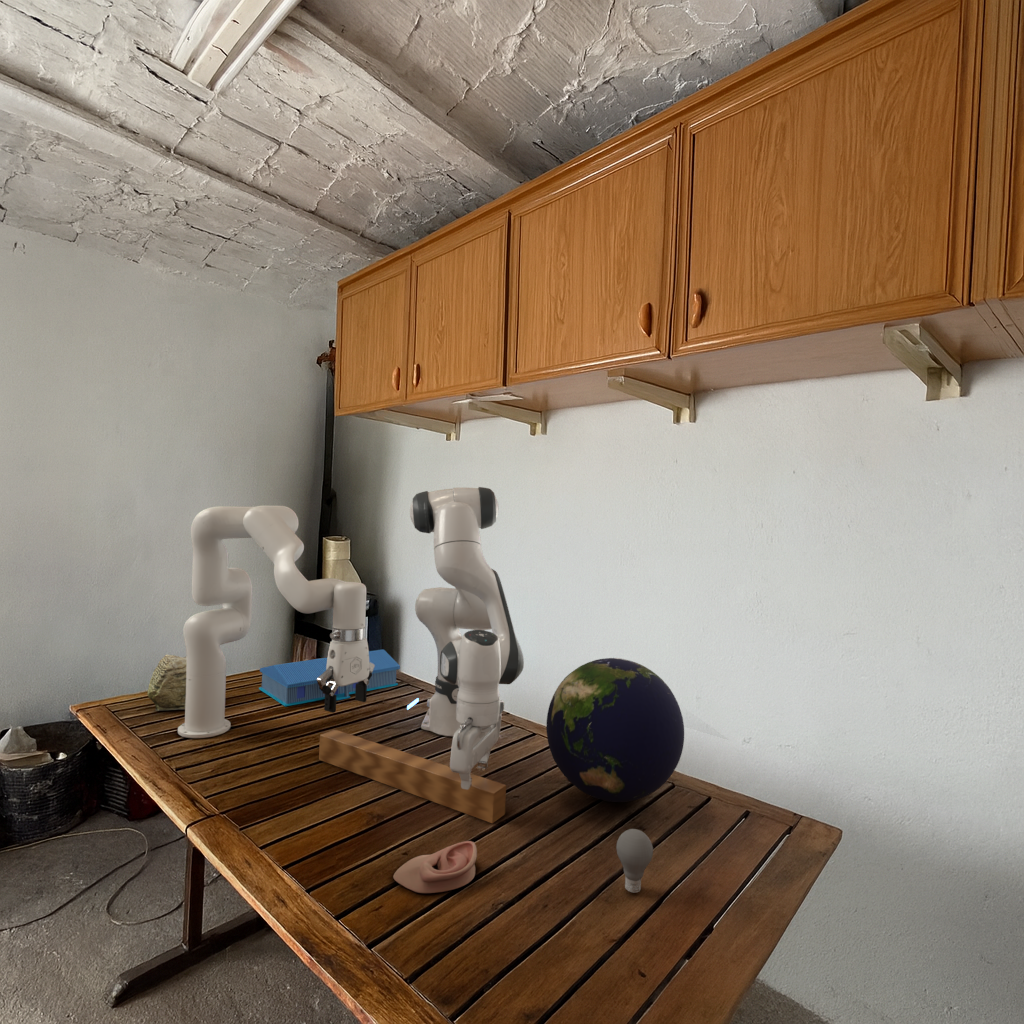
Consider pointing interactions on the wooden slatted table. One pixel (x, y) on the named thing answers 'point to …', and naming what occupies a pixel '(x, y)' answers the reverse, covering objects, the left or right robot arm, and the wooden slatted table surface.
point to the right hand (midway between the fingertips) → (474, 778)
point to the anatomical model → (439, 869)
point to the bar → (413, 775)
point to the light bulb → (634, 857)
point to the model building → (301, 677)
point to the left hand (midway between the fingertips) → (345, 705)
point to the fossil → (169, 683)
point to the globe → (615, 730)
